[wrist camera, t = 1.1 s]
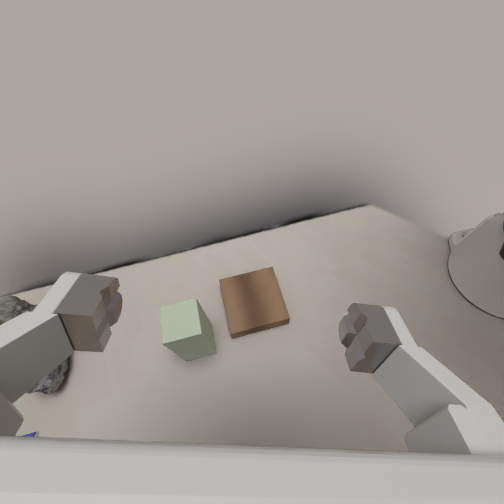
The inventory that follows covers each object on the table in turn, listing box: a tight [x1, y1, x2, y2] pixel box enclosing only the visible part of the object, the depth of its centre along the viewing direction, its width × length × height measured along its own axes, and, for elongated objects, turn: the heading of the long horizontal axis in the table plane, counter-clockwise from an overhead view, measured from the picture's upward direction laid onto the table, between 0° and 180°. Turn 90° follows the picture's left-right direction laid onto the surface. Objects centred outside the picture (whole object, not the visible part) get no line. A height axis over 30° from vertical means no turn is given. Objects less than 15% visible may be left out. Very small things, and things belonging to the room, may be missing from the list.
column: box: [160, 298, 216, 361], centre depth 36 cm, size 4×4×11 cm
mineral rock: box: [0, 296, 68, 394], centre depth 37 cm, size 13×11×10 cm
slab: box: [219, 267, 290, 339], centre depth 43 cm, size 9×9×3 cm
